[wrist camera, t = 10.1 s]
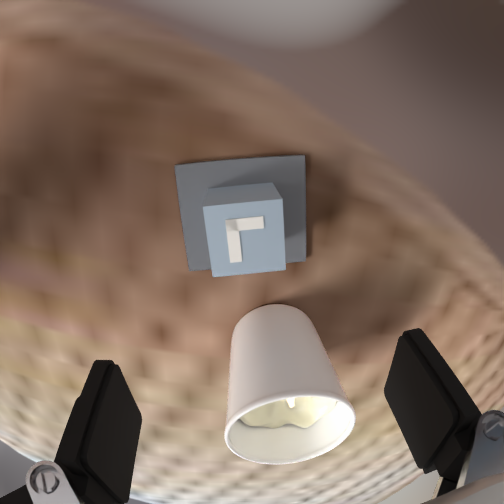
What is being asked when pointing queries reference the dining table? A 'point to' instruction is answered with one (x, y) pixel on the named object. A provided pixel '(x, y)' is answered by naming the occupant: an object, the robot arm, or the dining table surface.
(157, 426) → the dining table surface
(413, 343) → the robot arm
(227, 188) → the letter block
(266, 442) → the candle holder
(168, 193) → the dining table surface
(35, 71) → the dining table surface
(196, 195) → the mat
